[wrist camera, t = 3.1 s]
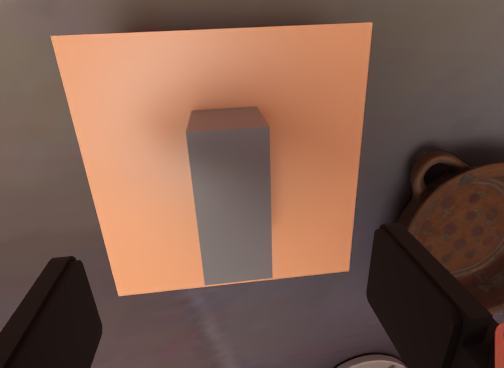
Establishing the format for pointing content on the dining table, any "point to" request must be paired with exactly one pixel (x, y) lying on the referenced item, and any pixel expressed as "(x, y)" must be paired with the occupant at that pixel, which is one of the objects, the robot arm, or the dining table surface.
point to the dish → (462, 222)
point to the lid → (220, 149)
